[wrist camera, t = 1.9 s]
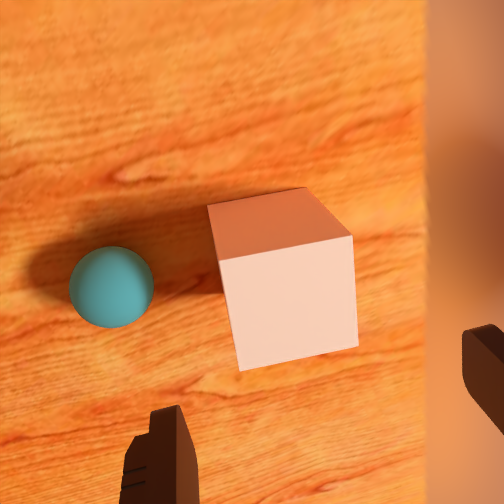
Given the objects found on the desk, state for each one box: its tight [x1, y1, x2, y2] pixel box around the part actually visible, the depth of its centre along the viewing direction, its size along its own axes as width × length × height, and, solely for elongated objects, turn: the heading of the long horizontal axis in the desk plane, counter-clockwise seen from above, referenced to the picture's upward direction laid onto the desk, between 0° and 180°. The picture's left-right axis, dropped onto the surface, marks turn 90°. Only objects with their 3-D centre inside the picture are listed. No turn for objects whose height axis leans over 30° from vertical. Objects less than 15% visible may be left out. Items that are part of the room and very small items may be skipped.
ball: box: [69, 246, 154, 328], centre depth 29 cm, size 5×5×5 cm
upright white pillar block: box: [207, 187, 359, 371], centre depth 28 cm, size 7×7×9 cm
